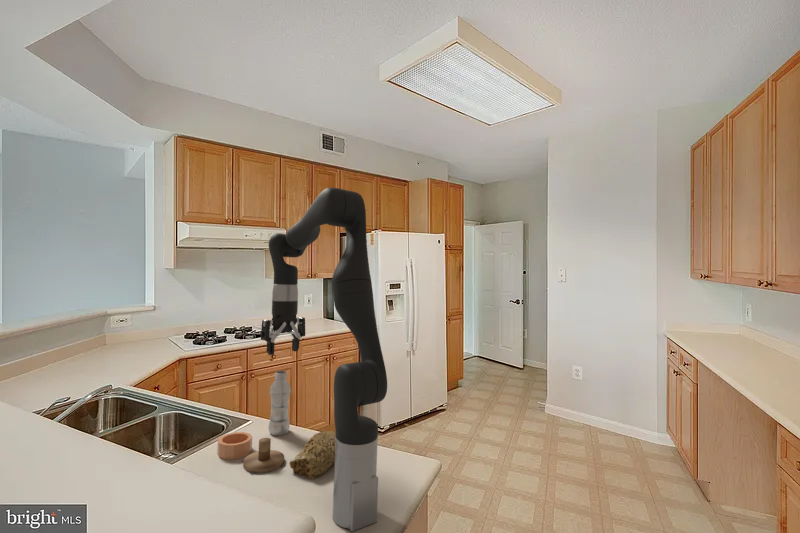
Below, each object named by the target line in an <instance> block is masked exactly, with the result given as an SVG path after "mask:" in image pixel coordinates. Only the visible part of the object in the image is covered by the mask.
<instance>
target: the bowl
mask: <svg viewBox="0 0 800 533" xmlns="http://www.w3.org/2000/svg"><path fill="white" fill-rule="evenodd" d="M216 448H217V450H216V452H217V453H216V455H217V456H218V458H220V459H222V460H236V459H240V458H245V457H246V456H248V455H249V454H251V451H252V449H253V435H252V434H251V433H248V432H245V431H244V432H243V431H237V432H236V431H235V432H231V433H230V432H229V433H227V434H224V435H222V436H220V437H219V438H218V439H217V446H216Z"/></svg>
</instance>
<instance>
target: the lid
mask: <svg viewBox="0 0 800 533" xmlns="http://www.w3.org/2000/svg"><path fill="white" fill-rule="evenodd" d="M271 442H272V439H271V438H270V437H262V438H260V439H259V440H258V450H257V451H255V452H252V453H249V454H248V455H246V456H244V459H243V460H244V461H242V463H243V464H242V466H243V469H244V470H245V471H247V472H248V473H250V472H253V473H258V474H264V473H265V474H266V473H269V472H274V471H275V470H278V469H280V468H282V467H281V466H282V465H283V463H284V464H285V454H284V453H283V452H281V451H279V450H274V449H271V446H272V445H271ZM279 467H280V468H279Z"/></svg>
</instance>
